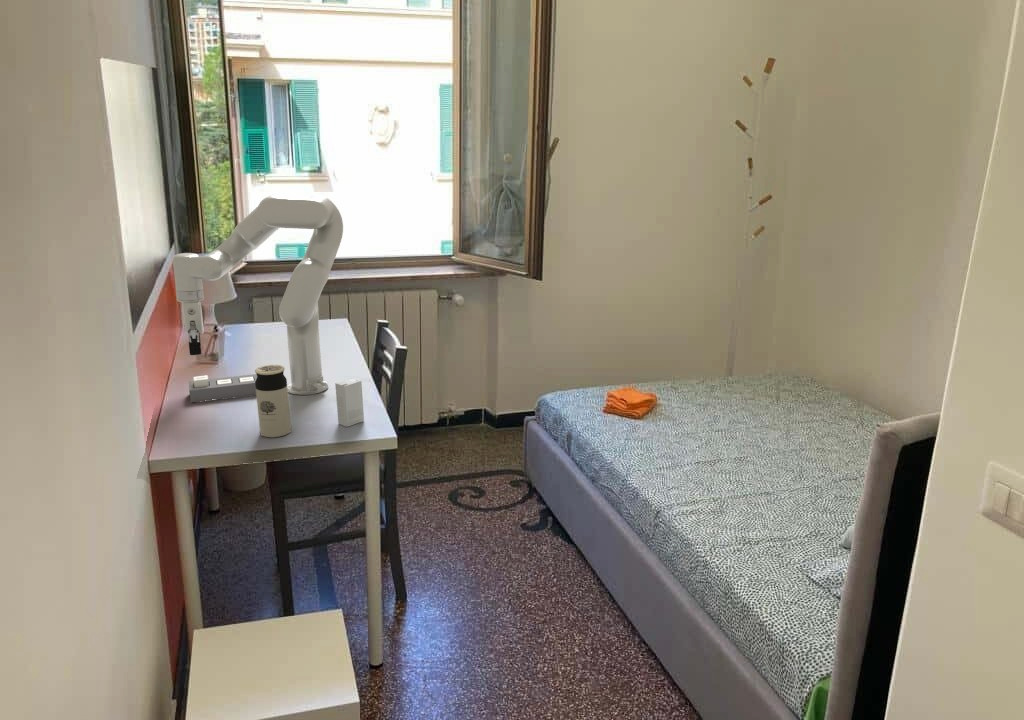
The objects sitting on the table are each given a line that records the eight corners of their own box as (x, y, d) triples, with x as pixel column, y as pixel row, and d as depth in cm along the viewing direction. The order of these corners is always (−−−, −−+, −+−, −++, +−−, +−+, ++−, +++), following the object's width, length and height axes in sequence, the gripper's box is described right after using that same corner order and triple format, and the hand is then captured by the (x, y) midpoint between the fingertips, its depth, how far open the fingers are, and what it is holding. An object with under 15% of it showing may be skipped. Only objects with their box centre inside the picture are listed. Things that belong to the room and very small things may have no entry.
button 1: (208, 383, 238) (207, 375, 237) (208, 386, 234) (208, 378, 233) (194, 384, 236) (193, 376, 236) (194, 388, 233) (193, 380, 232)
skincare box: (355, 417, 219) (352, 377, 216) (365, 421, 217) (362, 380, 213) (337, 424, 215) (334, 382, 211) (347, 428, 212) (344, 385, 209)
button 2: (253, 384, 243) (252, 376, 242) (254, 388, 239) (253, 380, 239) (240, 385, 242) (239, 377, 241) (241, 389, 238) (240, 381, 237)
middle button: (231, 386, 241) (230, 378, 240) (232, 390, 237) (231, 382, 236) (218, 388, 239) (217, 380, 239) (218, 392, 236) (217, 384, 235)
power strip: (262, 385, 247) (261, 373, 246) (265, 394, 239) (263, 381, 238) (190, 393, 239) (189, 381, 238) (190, 403, 231) (189, 390, 230)
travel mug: (273, 425, 214) (267, 363, 209) (297, 429, 211) (291, 366, 206) (254, 435, 207) (247, 371, 202) (278, 440, 204) (272, 374, 199)
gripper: (204, 300, 225) (209, 357, 230) (202, 288, 241) (207, 342, 246) (176, 302, 223) (182, 359, 228) (176, 290, 238) (182, 343, 243)
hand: (195, 350), depth 237 cm, fingers open, 9 cm apart
